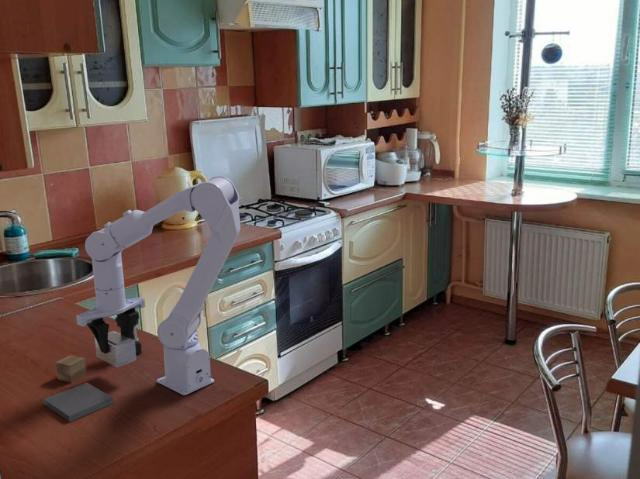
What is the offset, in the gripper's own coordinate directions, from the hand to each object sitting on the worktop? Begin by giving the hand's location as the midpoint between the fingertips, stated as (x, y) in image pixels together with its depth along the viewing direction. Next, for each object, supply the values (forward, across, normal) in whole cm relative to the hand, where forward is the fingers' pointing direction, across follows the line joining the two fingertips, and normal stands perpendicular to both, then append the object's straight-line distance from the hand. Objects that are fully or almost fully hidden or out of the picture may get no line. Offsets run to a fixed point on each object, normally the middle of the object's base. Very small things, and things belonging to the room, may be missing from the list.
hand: (115, 348), depth 127 cm
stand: (+7, +11, +4) cm, 14 cm away
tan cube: (+7, +6, -8) cm, 12 cm away
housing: (+2, 0, 0) cm, 2 cm away
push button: (+7, -8, -9) cm, 14 cm away
